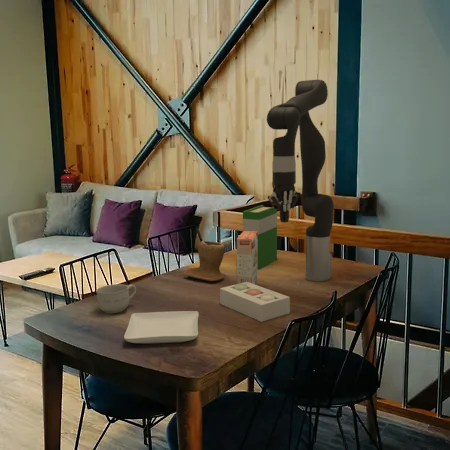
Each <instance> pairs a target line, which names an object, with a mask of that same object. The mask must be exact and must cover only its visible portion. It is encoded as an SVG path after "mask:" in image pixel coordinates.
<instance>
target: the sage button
mask: <svg viewBox="0 0 450 450" xmlns="http://www.w3.org/2000/svg"><path fill="white" fill-rule="evenodd" d="M236 284H237V283H236ZM236 284H234V285H235V286H234V288H235V289H236V290H238V291H242V290H246V289H247V285H245V284H237V285H236Z"/></svg>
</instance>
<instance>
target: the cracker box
mask: <svg viewBox="0 0 450 450" xmlns="http://www.w3.org/2000/svg"><path fill="white" fill-rule="evenodd" d="M257 265H258V232H256V231H243V230H242V232H241V233H240V235H239V236H237V238H236V284H240V283H244V282H249V283H252V284H255V285H258V270H257Z"/></svg>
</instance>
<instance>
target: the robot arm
mask: <svg viewBox="0 0 450 450" xmlns="http://www.w3.org/2000/svg"><path fill="white" fill-rule="evenodd" d="M294 88H295V89H294V91H295V92H294V96H293V97H290V98H289V99H288V100H287V101H285V102H284V103H281V104H277V105H274V106H272V107H271V108H270V109H269V111H268V112H267V114H266V123H267V125H268V127H270V129H272V130H287V131H286V133H285V134H284V135H283V136H279V137H275V138H274V139H273V141H272V165H271V166H272V184H273V189H272V194H271V195H267V199H268V201H269V203H270V204H271V206H272V207H274V208H275V209H276V210H277V211H279V221H280V222H281V223H288V222H289V221H290V210H291V209H294V208H295V206H296V204H297V202H298V200H299V198H300V196H301V208H302V211H303V214H305V216H307V217H310V218H314V223H313V225H310V226H307V227H306V230H305V279H306V280H308V281H311V282H325V281H329V280H330V279H331V278H332V265H333V264H332V261H333V260H332V257H333V256H332V253H331V230H332V229H333V221H334V209H335V208H334V206H335V205H334V201H333V199H332V197H331V196H330V195H327V194H323V193H319V189H318V184H319V183H318V180H319V177H320V174H321V171H322V170H323V168H324V165H325V162H326V158H327V157H326V156H327V155H326V152H327V151H326V141H325V139H324V136H323V135H322V134H321V132H320V131H319V129H318V128H317V127H316V125H315V123H314V122H313V120H312V119H311V116H310V112H309V111H311V110H313V109H314V108H316V107H320V106H322V105H324V104H325V103H326V101H327V100H328V94H329V93H328V92H329V91H328V86H327V83H326V81H324V80H323V79H308V80H300V81H298V82H297V83H296V84H295V87H294ZM298 130H299V147H300V148H299V150H300V160H301V177H302V178H301V181H302V182H301V183H302V184H301V187H302V188H301V192H299V191H297V190H296V186H295V185H296V182H297V181H296V180H297V176H296V175H297V173H296V171H297V168H296V166H297V165H296V164H297V163H296V152H295V151H296V149H295V148H296V138H297V135H298Z"/></svg>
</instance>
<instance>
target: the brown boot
mask: <svg viewBox="0 0 450 450" xmlns="http://www.w3.org/2000/svg"><path fill="white" fill-rule="evenodd" d="M198 244H199V245H198V250H197V251H198V259H199V260H198V261H199V266H198V267H190V268H188V269H186V270H185V271H184V272H183V275H185V276H187V277H191V278H195V279H198V280H204V281H208V282H216V281H221V280H223V279H224V278H225V274H223V273H222V272H221V270H220V268H221V265H222V262H223V259H224V255H225V252H226V251H225V245H224V243H221V242H218V241H211V240H202V241H200V243H198Z"/></svg>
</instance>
